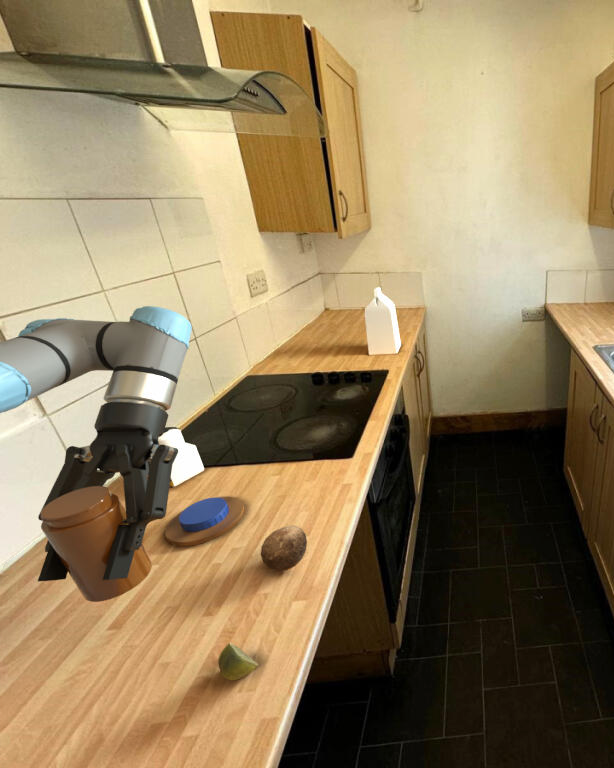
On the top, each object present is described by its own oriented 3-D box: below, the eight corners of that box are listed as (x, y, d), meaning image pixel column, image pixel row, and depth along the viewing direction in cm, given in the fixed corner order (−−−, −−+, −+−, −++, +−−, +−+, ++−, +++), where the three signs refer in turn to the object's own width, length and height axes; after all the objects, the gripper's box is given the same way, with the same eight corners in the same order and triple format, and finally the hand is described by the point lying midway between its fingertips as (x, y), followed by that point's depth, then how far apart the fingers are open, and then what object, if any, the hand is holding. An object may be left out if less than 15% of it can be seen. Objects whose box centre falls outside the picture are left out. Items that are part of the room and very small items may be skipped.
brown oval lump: (306, 519, 79) (286, 512, 74) (325, 552, 76) (305, 547, 70) (269, 548, 78) (246, 544, 72) (287, 584, 74) (264, 581, 69)
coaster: (149, 544, 78) (147, 540, 78) (201, 498, 90) (200, 495, 90) (213, 548, 77) (211, 544, 77) (258, 501, 89) (257, 497, 89)
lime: (234, 656, 59) (223, 632, 57) (269, 654, 59) (259, 630, 57) (215, 690, 55) (203, 666, 53) (252, 687, 55) (242, 663, 53)
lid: (237, 505, 87) (235, 498, 86) (209, 533, 79) (206, 525, 79) (202, 503, 87) (199, 496, 86) (171, 530, 80) (168, 523, 79)
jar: (68, 600, 55) (16, 520, 49) (119, 557, 61) (79, 482, 56) (118, 604, 54) (71, 523, 48) (164, 560, 61) (128, 484, 55)
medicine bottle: (154, 480, 96) (134, 436, 91) (186, 463, 102) (169, 421, 97) (174, 487, 94) (154, 442, 89) (205, 470, 100) (189, 426, 95)
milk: (374, 345, 183) (365, 286, 173) (400, 344, 185) (393, 285, 174) (368, 354, 173) (359, 292, 162) (397, 353, 174) (389, 291, 163)
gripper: (222, 413, 64) (185, 575, 56) (91, 415, 64) (34, 578, 56) (188, 398, 57) (139, 580, 49) (40, 400, 57) (-34, 584, 49)
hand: (83, 579), depth 53 cm, fingers closed on jar, 7 cm apart
